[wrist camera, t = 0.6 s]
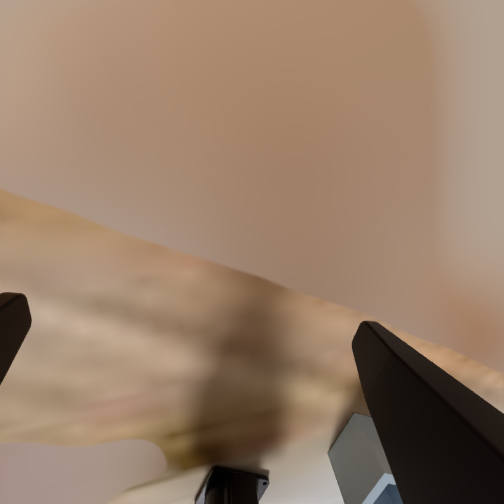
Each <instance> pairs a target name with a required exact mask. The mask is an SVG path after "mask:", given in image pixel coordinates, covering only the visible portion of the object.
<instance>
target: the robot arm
mask: <svg viewBox="0 0 504 504" xmlns="http://www.w3.org/2000/svg"><path fill="white" fill-rule="evenodd" d="M31 322H32V318H31V314H30V310H29V305H28V301H27V298H26V296H25V295H24V294H22V293H12V292H4V293H1V294H0V385H1V383H2V381H3V379H4V377H5V376H6V374H7V372H8V370H9V368H10V366H11V364H12V362H13V360H14V358H15V356H16V354H17V352H18V350H19V349H20V347H21V345H22V343H23V341H24V339H25V337H26V335H27V333H28V331H29V329H30V327H31ZM352 350H353V354H354V358H355V362H356V366H357V370H358V374H359V378H360V382H361V386H362V390H363V393H364V397H365V400H366V403H367V406H368V409H369V411H370V414H371V417H372V420H373V423H374V425H375V428H376V431H377V434H378V436H379V439H380V442H381V445H382V447H383V450H384V453H385V456H386V458H387V461H388V464H389V467H390V469H391V472H392V475H393V478H394V480H395V483H396V486H397V489H398V492H399V494H400V497H401V500H402V503H403V504H504V414H503V413H502V412H501V411H499V410H498V409H496V408H495V407H494V406H492V405H491V404H489V403H488V402H487V401H485V400H484V399H483V398H481V397H480V396H478V395H477V394H476V393H474V392H473V391H471V390H470V389H469V388H467V387H466V386H465V385H463V384H462V383H460V382H459V381H458V380H456V379H455V378H454V377H452V376H451V375H449V374H448V373H447V372H445V371H444V370H442V369H441V368H440V367H438V366H437V365H436V364H434V363H433V362H431V361H430V360H429V359H427V358H426V357H425V356H423V355H422V354H420V353H419V352H418V351H416V350H415V349H413V348H412V347H411V346H409V345H408V344H407V343H405V342H404V341H402V340H401V339H400V338H398V337H397V336H396V335H394V334H393V333H391V332H390V331H389V330H387V329H386V328H384V327H383V326H382V325H380V324H379V323H377V322H374V321H363V322H361V323H360V325H359V327H358V329H357V332H356V334H355V336H354V338H353V340H352ZM268 485H269V478H268V477H266V476H261V475H257V474H252V473H247V472H243V471H238V470H233V469H228V468H224V467H219V466H215V467H213V468H212V470H211V472H210V474H209V476H208V478H207V480H206V482H205V483H204V485H203V487H202V489H201V491H200V493H199V495H198V497H197V499H196V501H195V503H194V504H259V500H260V499H261V497H262V495H263V494H264V492H265V490H266V489H267V487H268Z"/></svg>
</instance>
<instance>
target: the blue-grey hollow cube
mask: <svg viewBox="0 0 504 504" xmlns="http://www.w3.org/2000/svg"><path fill="white" fill-rule="evenodd" d="M328 456H329V459H330V462H331V465H332V468H333V471H334V474H335V477H336V480H337V483H338V485H339V488H340V491H341V494H342V497H343V500H344V503H345V504H403V503H402V500H401V497H400V494H399V492H398V489H397V486H396V483H395V480H394V478H393V475H392V472H391V469H390V467H389V464H388V461H387V458H386V456H385V453H384V450H383V447H382V445H381V442H380V439H379V436H378V434H377V431H376V428H375V425H374V423H373V420H372V417H368V416H365V415H361V414H357V413H354V414H353V416H352V417H351V419H350V420H349V422H348V423H347V425H346V426H345V428H344V429H343V431H342V432H341V434H340V436H339V437H338V439H337V440H336V442H335V443H334V445H333V446H332V448H331V449H330V451H329V452H328Z"/></svg>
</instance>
